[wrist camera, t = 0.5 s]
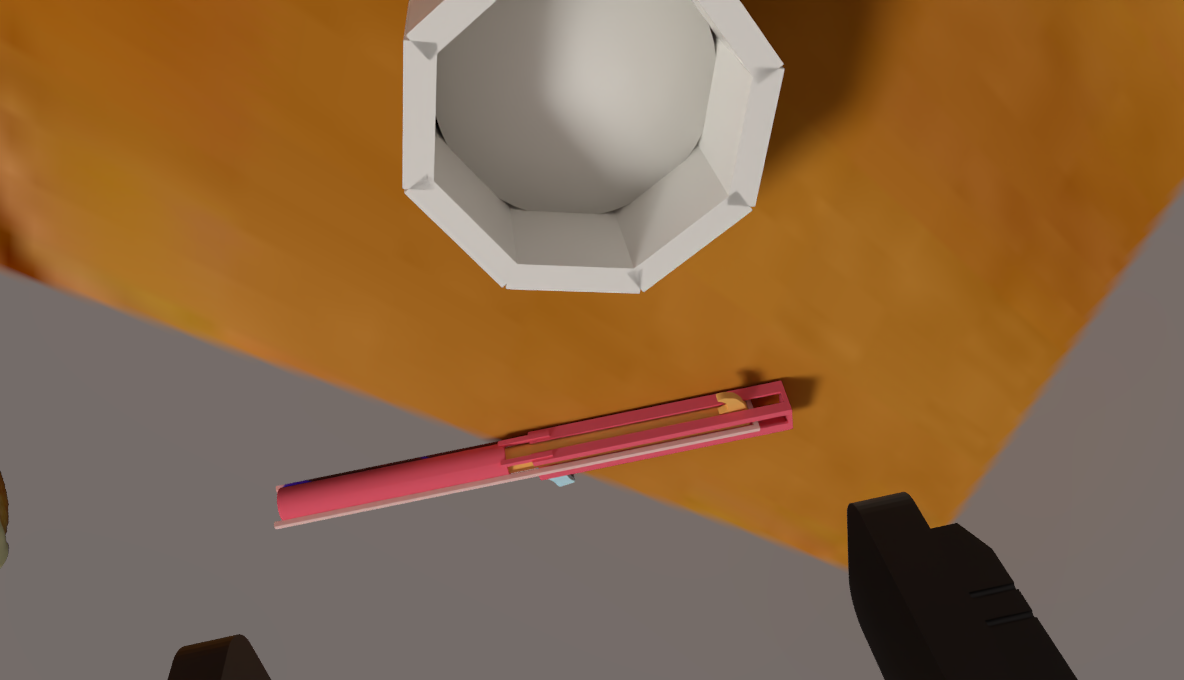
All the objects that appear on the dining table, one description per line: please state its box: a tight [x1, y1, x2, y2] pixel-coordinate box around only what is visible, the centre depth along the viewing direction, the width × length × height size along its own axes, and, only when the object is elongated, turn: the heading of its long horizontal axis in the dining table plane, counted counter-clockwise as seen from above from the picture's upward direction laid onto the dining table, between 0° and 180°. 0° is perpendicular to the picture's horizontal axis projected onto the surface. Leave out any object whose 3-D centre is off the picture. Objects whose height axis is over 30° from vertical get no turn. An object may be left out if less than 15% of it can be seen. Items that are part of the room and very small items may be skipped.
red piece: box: [274, 381, 793, 529], centre depth 44 cm, size 24×2×5 cm
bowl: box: [403, 0, 785, 294], centre depth 33 cm, size 12×12×6 cm
